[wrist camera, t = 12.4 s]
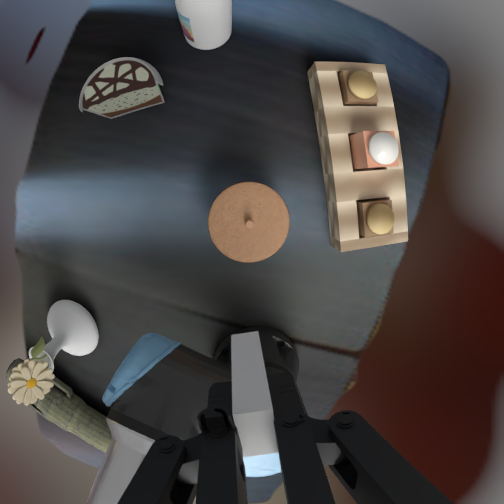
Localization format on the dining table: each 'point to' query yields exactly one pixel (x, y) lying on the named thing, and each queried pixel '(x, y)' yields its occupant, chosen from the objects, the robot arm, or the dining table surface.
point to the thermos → (71, 413)
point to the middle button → (374, 149)
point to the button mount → (340, 155)
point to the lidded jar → (248, 222)
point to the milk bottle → (205, 22)
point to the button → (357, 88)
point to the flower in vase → (53, 350)
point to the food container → (121, 88)
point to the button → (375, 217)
